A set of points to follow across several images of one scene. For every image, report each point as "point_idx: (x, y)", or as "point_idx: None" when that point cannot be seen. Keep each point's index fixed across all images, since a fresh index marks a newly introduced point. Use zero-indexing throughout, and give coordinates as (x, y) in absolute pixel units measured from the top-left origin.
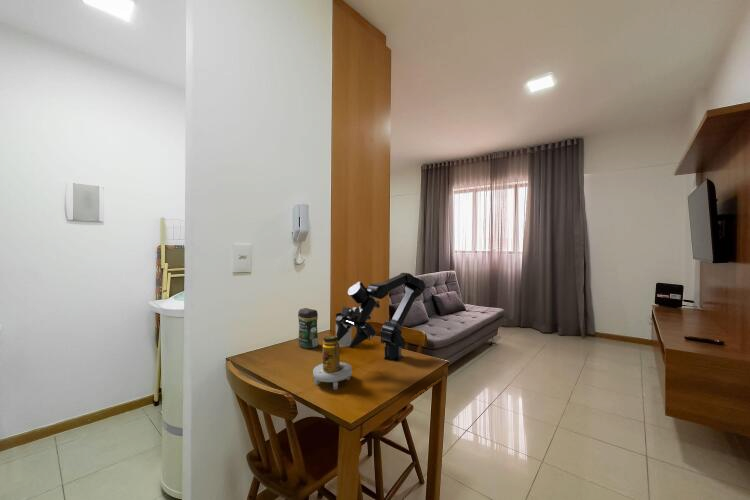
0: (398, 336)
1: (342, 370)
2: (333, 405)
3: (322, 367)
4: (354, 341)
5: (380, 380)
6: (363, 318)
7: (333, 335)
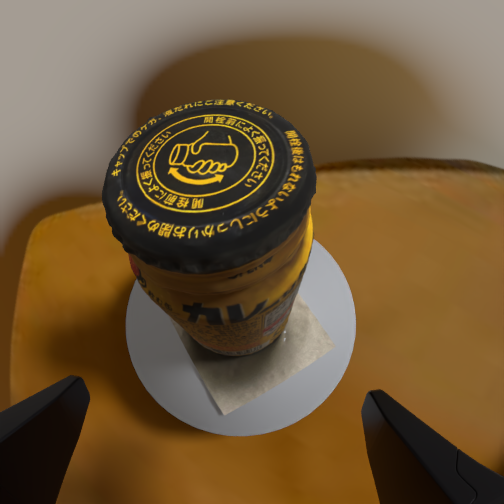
0: None
1: (177, 346)
2: (103, 227)
3: (302, 286)
4: (19, 410)
5: (94, 472)
6: None
7: (234, 218)
